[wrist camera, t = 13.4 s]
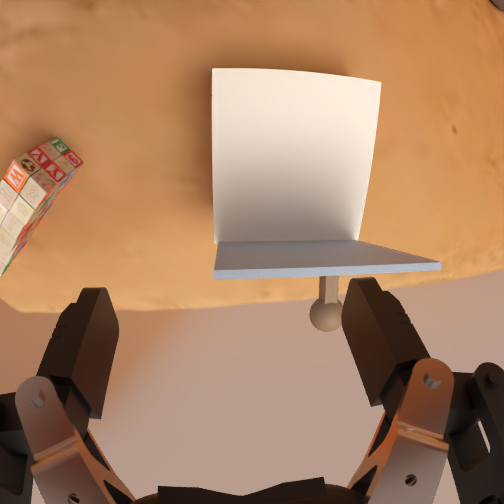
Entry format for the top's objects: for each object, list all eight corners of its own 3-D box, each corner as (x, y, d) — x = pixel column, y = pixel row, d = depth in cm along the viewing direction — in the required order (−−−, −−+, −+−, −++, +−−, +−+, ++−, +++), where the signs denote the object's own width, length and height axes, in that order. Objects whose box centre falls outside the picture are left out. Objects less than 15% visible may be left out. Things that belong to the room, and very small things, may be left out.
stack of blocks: (24, 247, 47) (-9, 289, 37) (1, 225, 44) (-35, 263, 34) (84, 161, 41) (46, 193, 31) (57, 134, 38) (12, 159, 28)
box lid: (214, 270, 20) (217, 352, 21) (441, 262, 22) (433, 331, 22) (218, 242, 38) (219, 289, 39) (355, 239, 40) (353, 284, 40)
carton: (214, 69, 36) (212, 68, 28) (349, 77, 38) (381, 82, 29) (215, 208, 47) (214, 243, 38) (334, 208, 48) (357, 240, 40)
